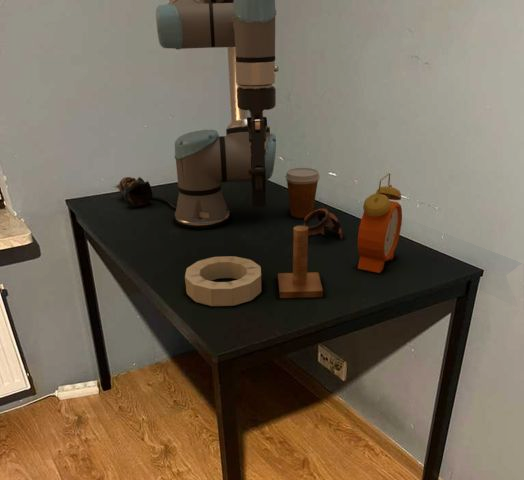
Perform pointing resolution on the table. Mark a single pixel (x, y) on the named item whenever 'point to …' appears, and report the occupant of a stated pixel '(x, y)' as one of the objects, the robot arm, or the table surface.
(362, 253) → the alarm clock
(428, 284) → the table surface
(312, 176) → the disposable coffee cup
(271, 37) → the robot arm
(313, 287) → the stand
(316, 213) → the pottery mug
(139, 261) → the table surface
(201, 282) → the ring
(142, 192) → the figurine
